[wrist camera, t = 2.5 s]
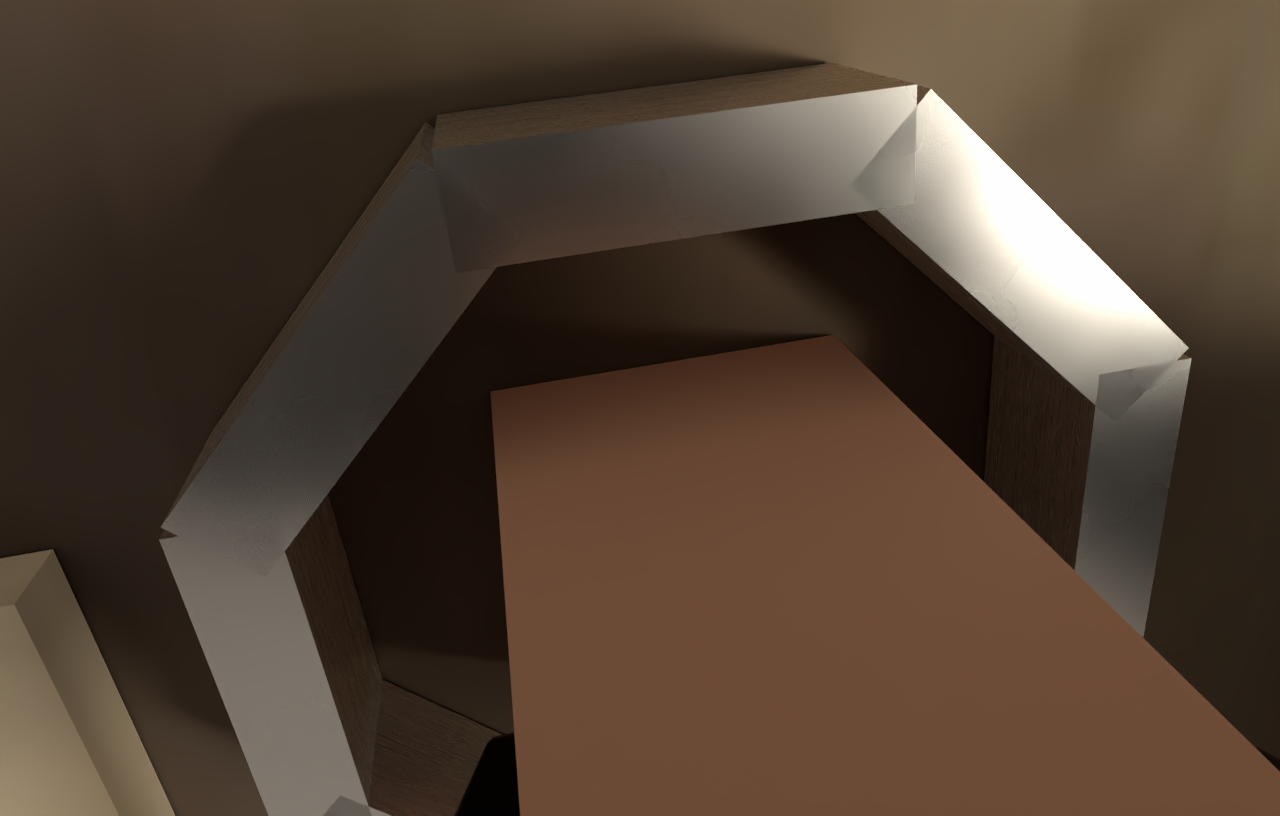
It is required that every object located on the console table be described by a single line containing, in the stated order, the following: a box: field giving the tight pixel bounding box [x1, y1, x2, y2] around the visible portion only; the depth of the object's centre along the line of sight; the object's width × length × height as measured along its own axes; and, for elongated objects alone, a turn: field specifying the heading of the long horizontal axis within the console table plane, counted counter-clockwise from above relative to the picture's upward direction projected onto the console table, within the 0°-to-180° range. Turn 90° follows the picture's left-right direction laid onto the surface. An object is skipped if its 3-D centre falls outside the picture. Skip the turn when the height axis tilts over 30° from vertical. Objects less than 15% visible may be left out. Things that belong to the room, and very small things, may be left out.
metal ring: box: [159, 63, 1192, 816], centre depth 11 cm, size 10×10×2 cm
